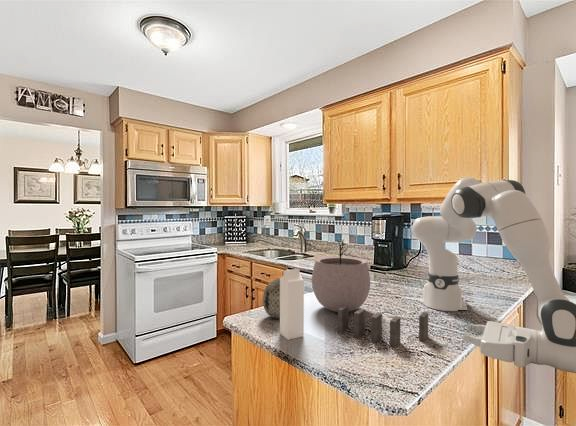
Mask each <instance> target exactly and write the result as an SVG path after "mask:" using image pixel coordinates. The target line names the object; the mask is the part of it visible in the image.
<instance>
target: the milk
mask: <svg viewBox="0 0 576 426" xmlns="http://www.w3.org/2000/svg"><path fill="white" fill-rule="evenodd" d="M300 271H301V270H300V268H296V269H295V268H293V269H287V270H283V275H282V276H281V277H279V279H280V318H279V334H280V335H281V336H283V338H285V339H286V340H287V341H289V340H293V339H298V338H303V337H304V336H305V335H304V332H305V330H304V329H305V327H304V326H305V325H304V324H305V323H304V322H305V320H304V319H305V318H304V317H305V316H304V313H305V312H304V311H305V309H304V307H305V306H304V305H305V298H304V297H305V289H304V287H305V283H304V282H305V281H304V278H303V277H302V275H301V273H300Z"/></svg>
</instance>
